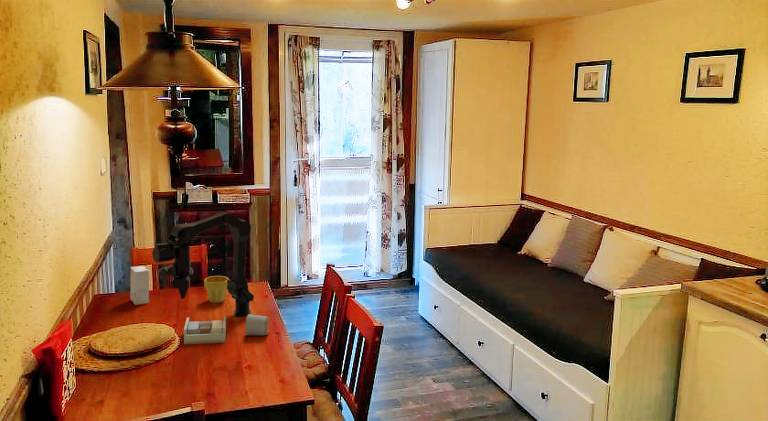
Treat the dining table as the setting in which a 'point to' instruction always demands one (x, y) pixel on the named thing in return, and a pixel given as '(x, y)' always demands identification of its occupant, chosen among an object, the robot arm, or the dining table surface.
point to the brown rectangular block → (205, 327)
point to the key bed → (204, 335)
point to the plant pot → (216, 288)
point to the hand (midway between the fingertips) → (182, 298)
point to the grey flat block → (193, 327)
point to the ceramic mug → (256, 325)
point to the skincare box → (139, 285)
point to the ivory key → (217, 326)
